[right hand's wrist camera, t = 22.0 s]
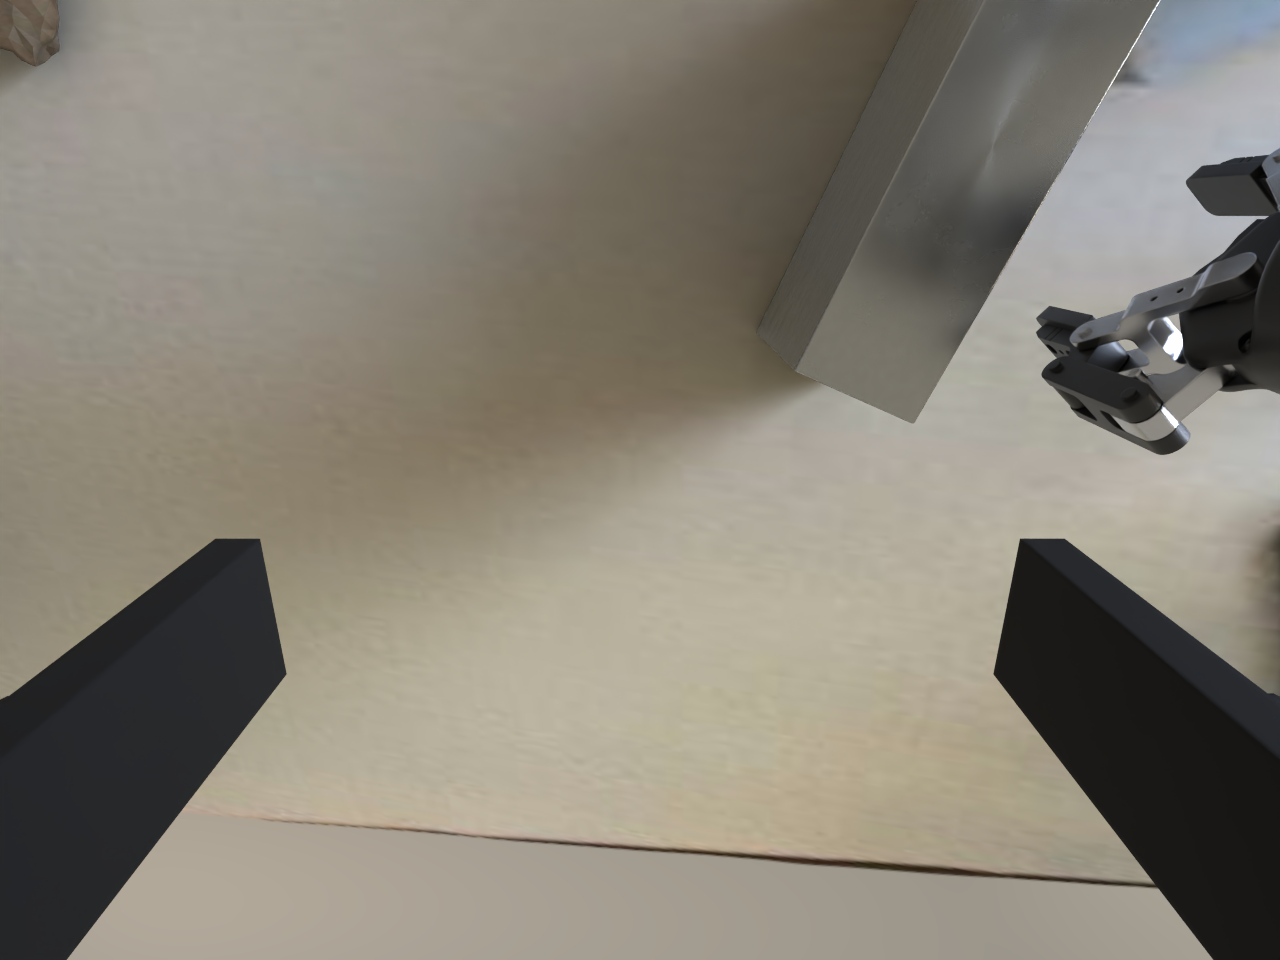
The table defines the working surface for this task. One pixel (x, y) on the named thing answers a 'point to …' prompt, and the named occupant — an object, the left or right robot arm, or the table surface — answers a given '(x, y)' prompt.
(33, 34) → the stone
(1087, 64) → the box
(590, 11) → the table surface
